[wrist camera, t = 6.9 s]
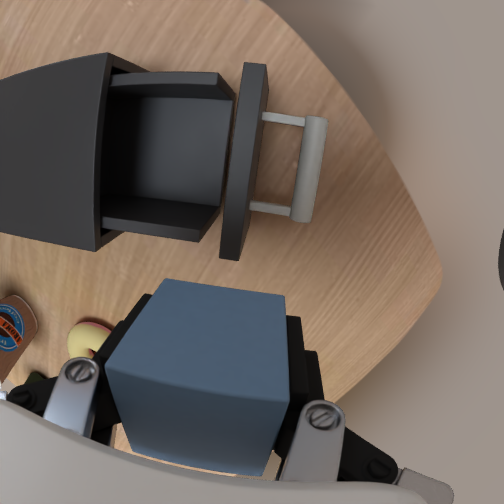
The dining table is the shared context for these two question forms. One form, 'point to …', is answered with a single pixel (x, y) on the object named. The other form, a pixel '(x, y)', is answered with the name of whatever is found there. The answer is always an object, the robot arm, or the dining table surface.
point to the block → (204, 377)
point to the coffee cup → (14, 332)
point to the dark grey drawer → (195, 155)
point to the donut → (86, 339)
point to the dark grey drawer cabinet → (56, 150)
